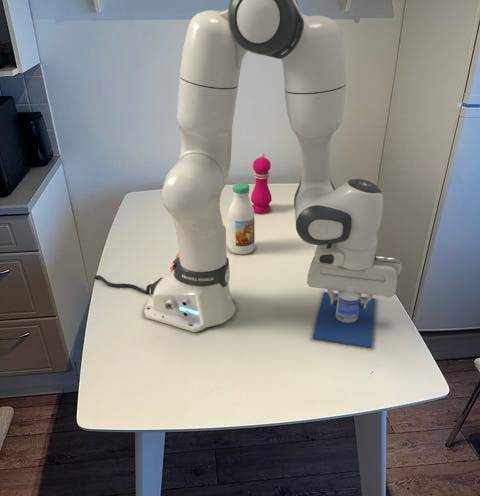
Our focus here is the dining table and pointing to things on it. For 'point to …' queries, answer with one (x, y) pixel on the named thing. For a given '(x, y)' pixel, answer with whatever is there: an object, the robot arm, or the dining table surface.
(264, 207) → the pepper mill
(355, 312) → the pill bottle
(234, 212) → the milk bottle
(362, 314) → the blue pad
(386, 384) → the dining table surface
